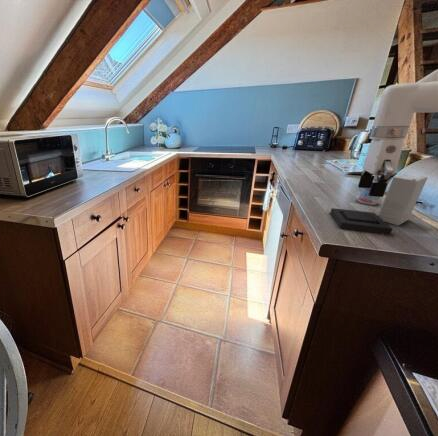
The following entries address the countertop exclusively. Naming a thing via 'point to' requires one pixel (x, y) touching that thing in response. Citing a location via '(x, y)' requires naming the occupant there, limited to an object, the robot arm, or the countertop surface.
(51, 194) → the countertop surface
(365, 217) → the black pad
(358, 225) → the frame
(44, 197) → the countertop surface
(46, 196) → the countertop surface
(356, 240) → the countertop surface
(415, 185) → the cosmetic box
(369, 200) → the pill bottle
